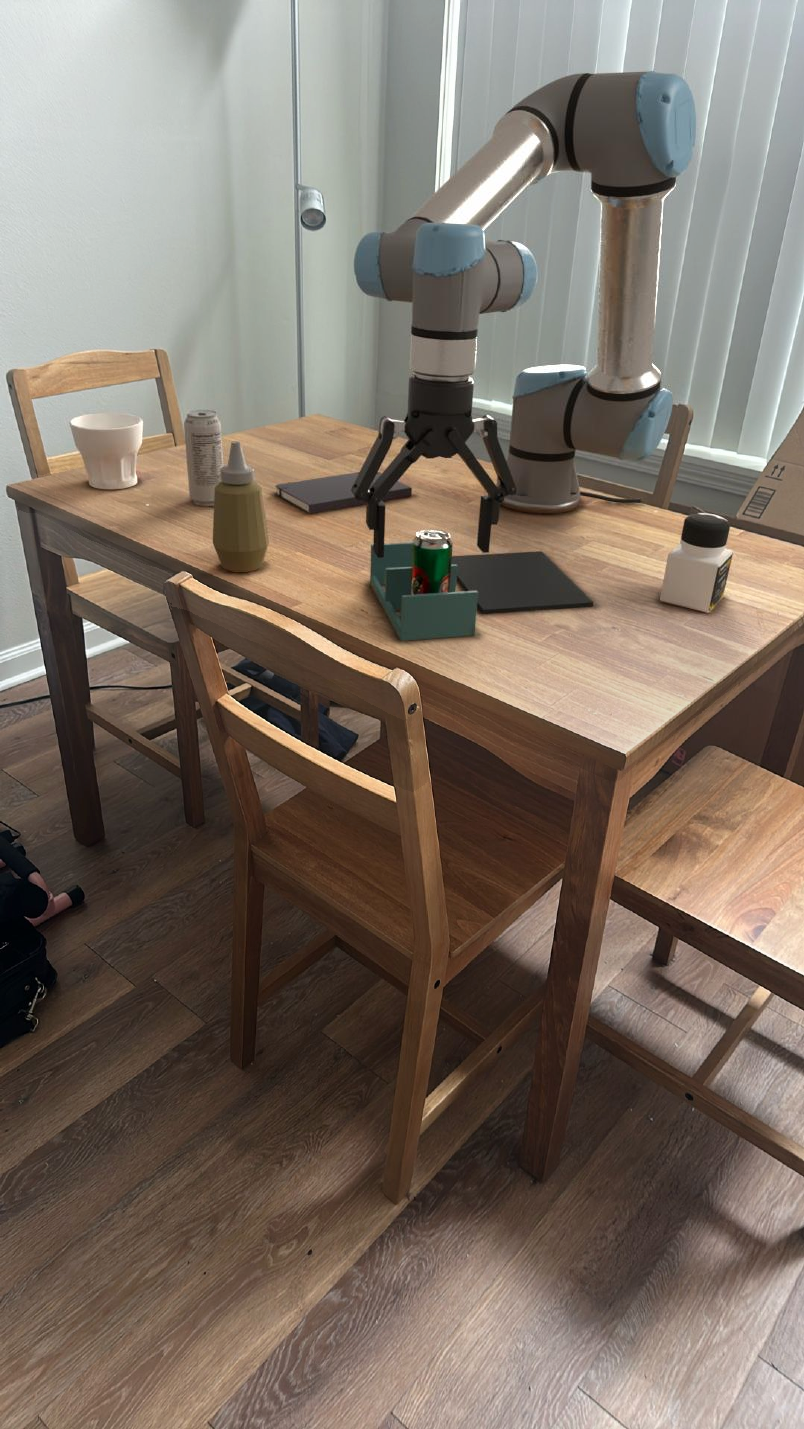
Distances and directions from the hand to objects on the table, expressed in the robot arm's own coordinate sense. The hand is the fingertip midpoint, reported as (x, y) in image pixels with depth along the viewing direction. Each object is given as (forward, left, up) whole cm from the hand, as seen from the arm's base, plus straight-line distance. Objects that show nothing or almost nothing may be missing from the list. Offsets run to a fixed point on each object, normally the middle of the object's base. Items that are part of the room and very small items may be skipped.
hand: (431, 551), depth 119 cm
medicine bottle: (-39, -2, -10) cm, 40 cm away
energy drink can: (+25, -55, -10) cm, 61 cm away
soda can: (0, 0, -10) cm, 10 cm away
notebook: (+1, -56, -10) cm, 57 cm away
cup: (+41, -68, -10) cm, 80 cm away
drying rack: (0, -5, -10) cm, 11 cm away
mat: (-16, -12, -10) cm, 22 cm away
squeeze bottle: (+22, -24, -10) cm, 34 cm away
